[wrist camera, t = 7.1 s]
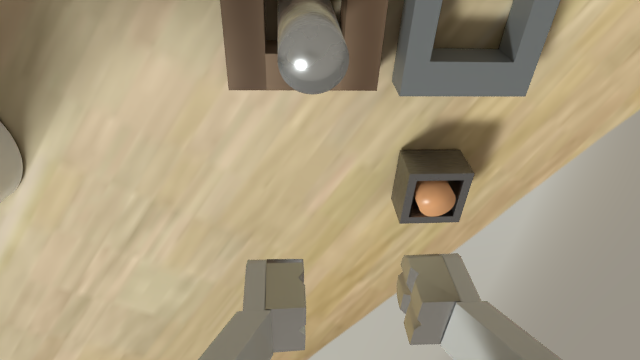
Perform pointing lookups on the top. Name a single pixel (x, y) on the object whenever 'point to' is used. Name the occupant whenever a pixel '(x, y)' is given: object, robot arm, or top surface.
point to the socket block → (262, 55)
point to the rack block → (470, 53)
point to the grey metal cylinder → (310, 46)
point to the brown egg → (434, 197)
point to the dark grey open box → (430, 169)
